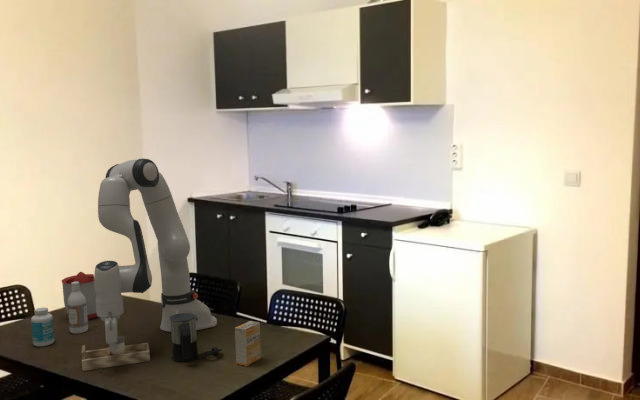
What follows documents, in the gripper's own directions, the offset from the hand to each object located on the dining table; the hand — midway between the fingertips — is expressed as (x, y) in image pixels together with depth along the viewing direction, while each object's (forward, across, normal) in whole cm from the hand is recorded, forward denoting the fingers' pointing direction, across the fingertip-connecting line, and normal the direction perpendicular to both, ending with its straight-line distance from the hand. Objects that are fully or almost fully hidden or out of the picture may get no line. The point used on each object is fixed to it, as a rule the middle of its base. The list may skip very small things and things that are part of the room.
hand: (112, 347), depth 215 cm
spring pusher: (+4, 0, +1) cm, 4 cm away
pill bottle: (+5, +29, +25) cm, 39 cm away
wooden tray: (+5, 0, -1) cm, 5 cm away
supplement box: (+5, -18, -44) cm, 48 cm away
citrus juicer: (+5, +58, +11) cm, 59 cm away
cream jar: (+4, 0, -2) cm, 4 cm away
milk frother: (+5, -7, -28) cm, 29 cm away
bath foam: (+5, +39, +13) cm, 42 cm away
